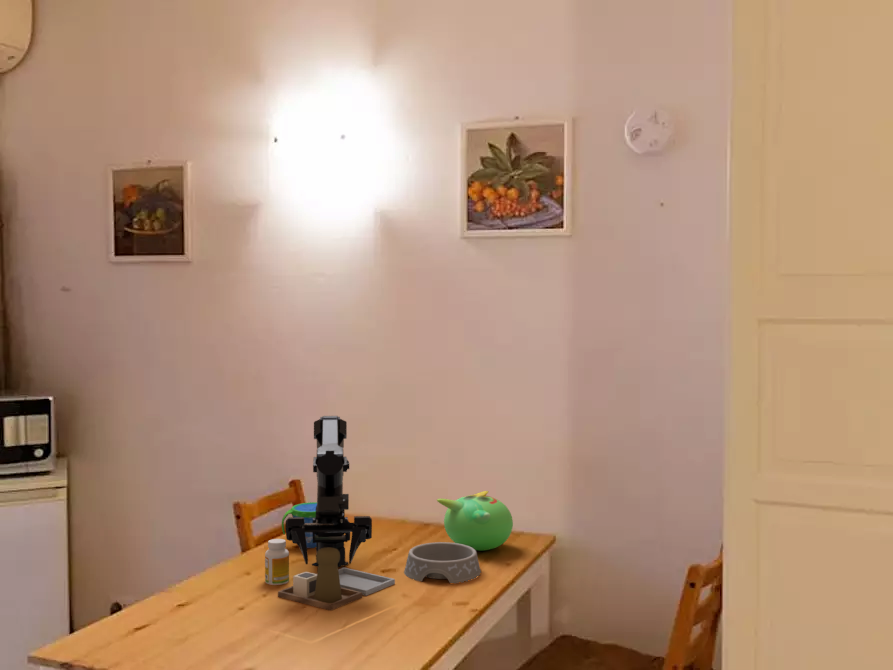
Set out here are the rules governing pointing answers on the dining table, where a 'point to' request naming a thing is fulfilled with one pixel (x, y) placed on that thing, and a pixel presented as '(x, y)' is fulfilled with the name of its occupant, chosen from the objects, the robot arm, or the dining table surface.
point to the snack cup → (308, 513)
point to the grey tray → (363, 581)
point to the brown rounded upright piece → (328, 576)
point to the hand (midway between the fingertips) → (328, 563)
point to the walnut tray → (346, 598)
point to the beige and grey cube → (304, 584)
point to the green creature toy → (477, 521)
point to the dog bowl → (442, 562)
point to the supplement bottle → (277, 562)
